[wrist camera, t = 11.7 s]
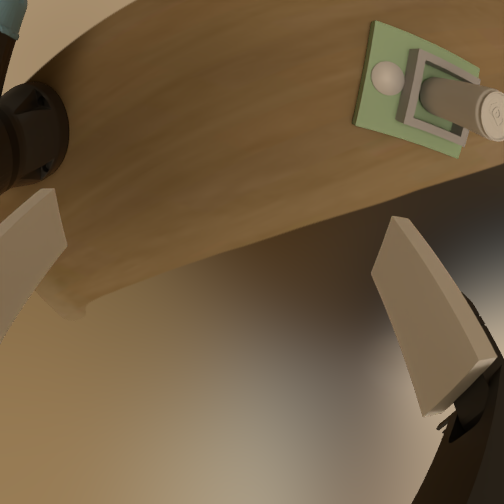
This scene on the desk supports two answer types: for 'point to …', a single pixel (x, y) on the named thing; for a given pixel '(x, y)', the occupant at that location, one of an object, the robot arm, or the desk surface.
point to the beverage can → (465, 105)
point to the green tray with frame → (408, 88)
